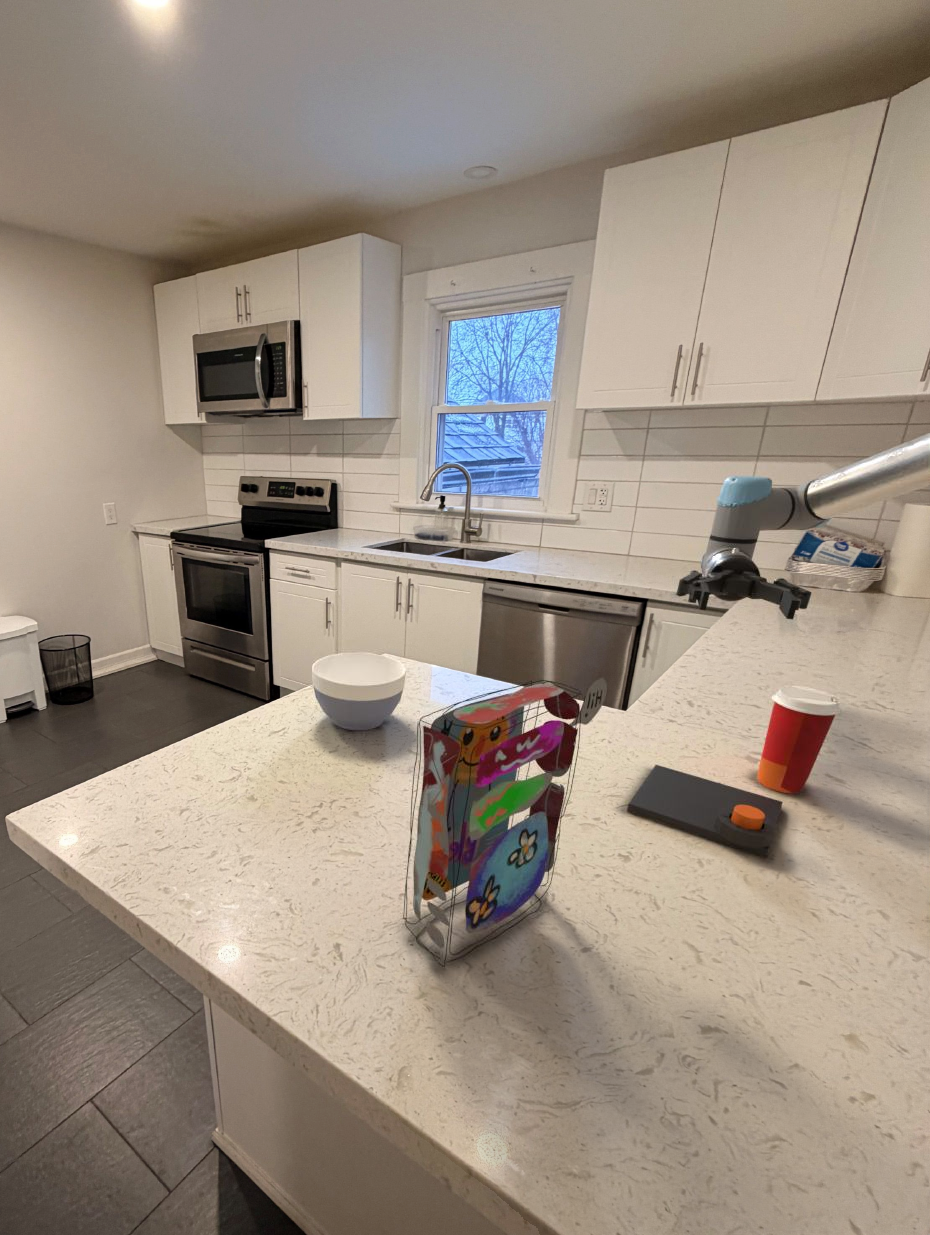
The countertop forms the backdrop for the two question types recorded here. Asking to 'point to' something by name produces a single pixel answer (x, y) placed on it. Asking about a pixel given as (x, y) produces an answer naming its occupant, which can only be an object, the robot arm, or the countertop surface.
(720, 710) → the countertop surface
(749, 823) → the tare button
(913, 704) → the countertop surface
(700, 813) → the scale
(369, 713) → the bowl
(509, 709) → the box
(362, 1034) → the countertop surface
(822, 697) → the paper cup
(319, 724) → the countertop surface
